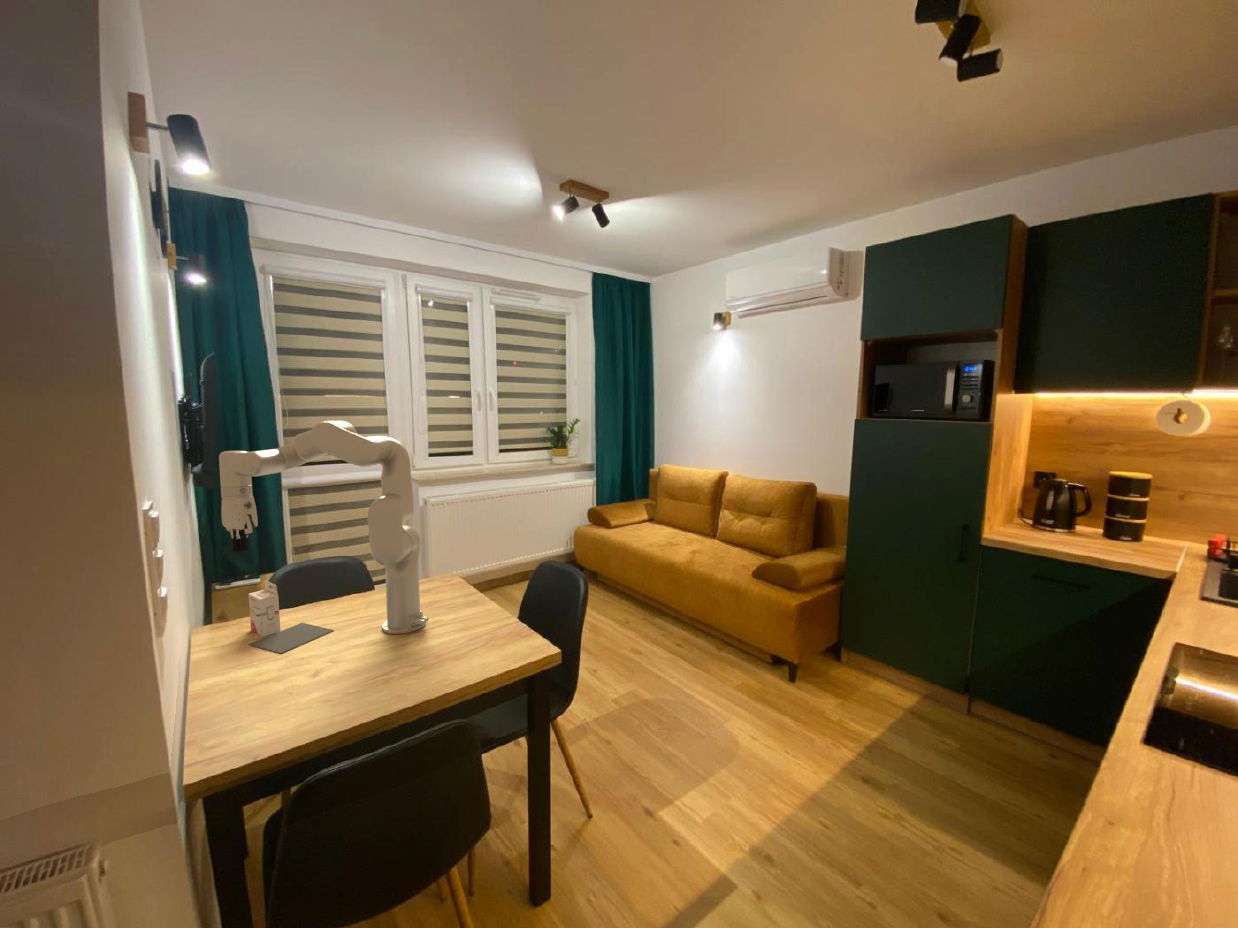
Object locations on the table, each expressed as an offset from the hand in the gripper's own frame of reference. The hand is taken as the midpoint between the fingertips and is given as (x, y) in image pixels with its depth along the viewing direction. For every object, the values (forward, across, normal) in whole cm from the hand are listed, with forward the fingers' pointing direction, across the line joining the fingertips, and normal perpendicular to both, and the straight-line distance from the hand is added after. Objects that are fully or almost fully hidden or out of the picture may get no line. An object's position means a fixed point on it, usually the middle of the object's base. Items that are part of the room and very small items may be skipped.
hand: (240, 550), depth 152 cm
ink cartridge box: (+24, -9, 0) cm, 26 cm away
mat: (+24, -21, 0) cm, 32 cm away
